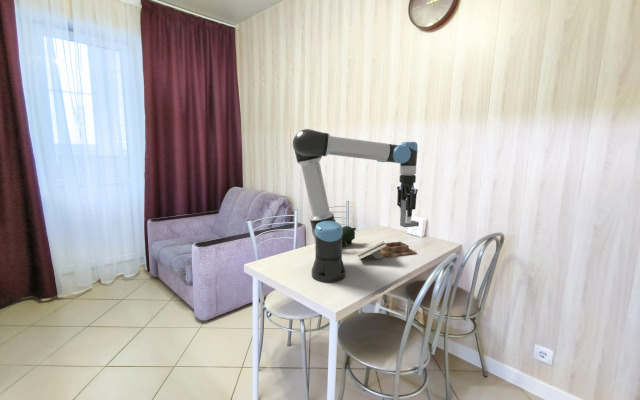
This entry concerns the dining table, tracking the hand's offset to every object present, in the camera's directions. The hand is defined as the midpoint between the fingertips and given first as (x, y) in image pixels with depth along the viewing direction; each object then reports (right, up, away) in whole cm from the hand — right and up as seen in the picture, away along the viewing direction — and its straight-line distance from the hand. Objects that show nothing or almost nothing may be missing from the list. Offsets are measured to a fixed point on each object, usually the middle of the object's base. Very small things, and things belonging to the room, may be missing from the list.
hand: (405, 221), depth 147 cm
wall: (-16, -20, +7) cm, 26 cm away
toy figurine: (-30, -16, +27) cm, 44 cm away
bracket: (+2, -2, +1) cm, 3 cm away
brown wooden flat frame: (-1, -18, +18) cm, 25 cm away
